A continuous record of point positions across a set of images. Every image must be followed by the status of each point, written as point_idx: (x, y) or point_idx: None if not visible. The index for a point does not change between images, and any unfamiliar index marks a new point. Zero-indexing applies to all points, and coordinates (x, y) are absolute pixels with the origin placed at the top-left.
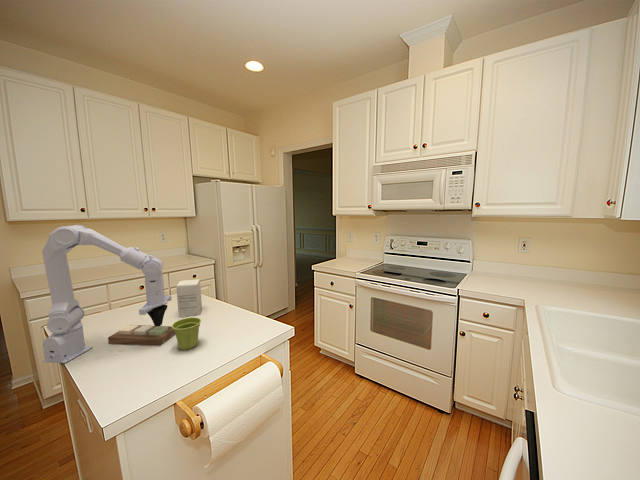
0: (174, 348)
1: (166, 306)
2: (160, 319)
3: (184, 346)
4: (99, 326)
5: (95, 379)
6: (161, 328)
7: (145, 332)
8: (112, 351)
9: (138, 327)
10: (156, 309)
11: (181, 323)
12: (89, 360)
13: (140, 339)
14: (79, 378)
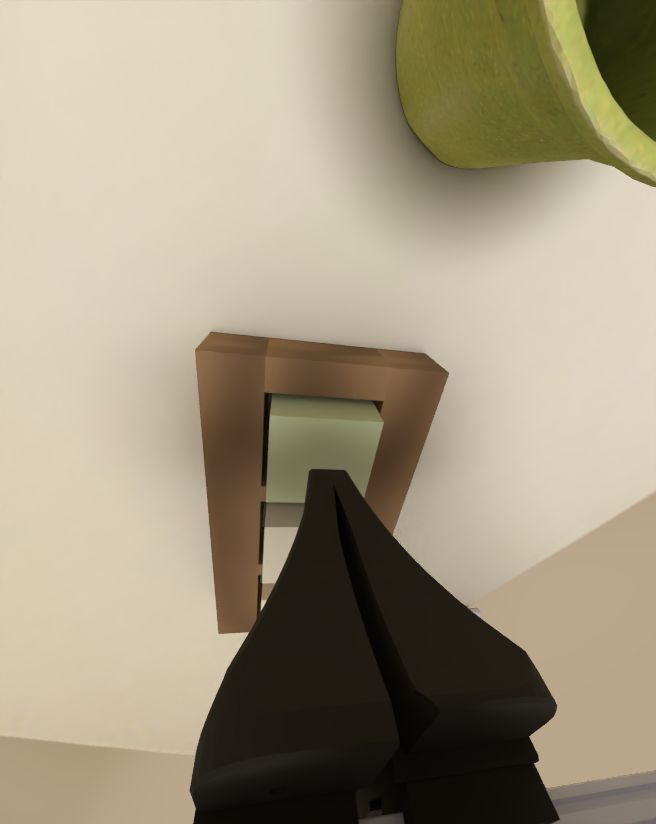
0: (497, 206)
1: (285, 733)
2: (360, 518)
3: (617, 24)
4: (202, 690)
5: (649, 465)
6: (311, 448)
7: None
8: (427, 543)
9: (265, 588)
10: (470, 751)
11: (538, 80)
12: (479, 565)
13: (401, 496)
14: (605, 517)
